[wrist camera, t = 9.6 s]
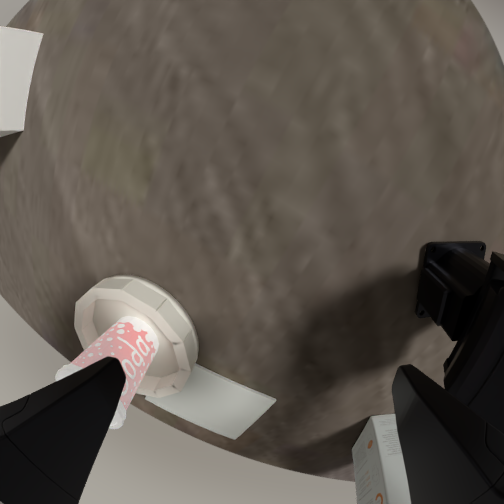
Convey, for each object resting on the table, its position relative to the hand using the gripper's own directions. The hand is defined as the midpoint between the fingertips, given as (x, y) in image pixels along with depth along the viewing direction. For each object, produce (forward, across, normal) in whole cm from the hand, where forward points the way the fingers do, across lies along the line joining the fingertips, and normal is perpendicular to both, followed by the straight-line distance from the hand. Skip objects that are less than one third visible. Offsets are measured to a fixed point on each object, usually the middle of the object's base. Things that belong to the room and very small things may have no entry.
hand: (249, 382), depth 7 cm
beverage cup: (+12, +13, +8) cm, 19 cm away
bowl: (+13, +13, +8) cm, 20 cm away
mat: (+13, +8, +17) cm, 23 cm away
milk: (+13, +30, -21) cm, 39 cm away
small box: (+13, -13, +24) cm, 30 cm away
